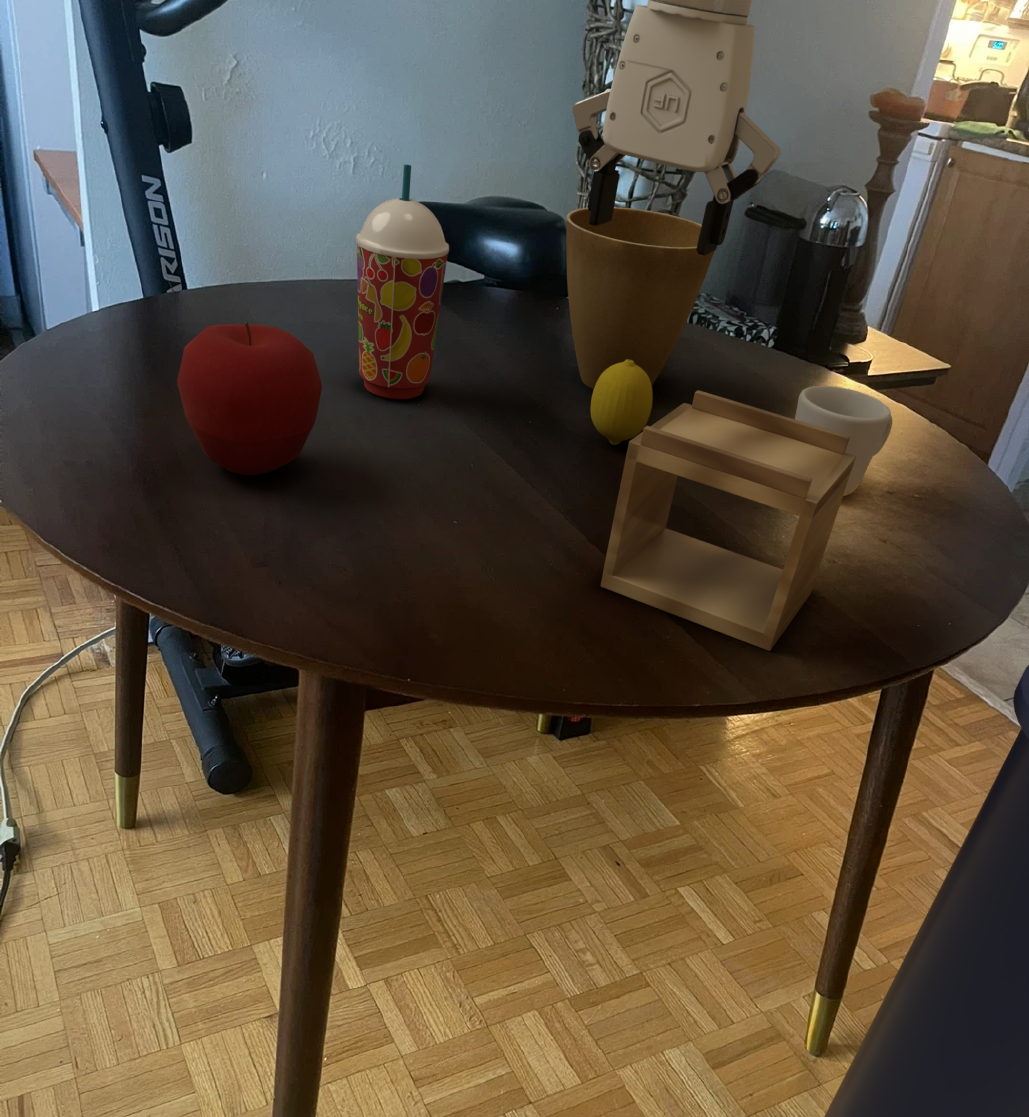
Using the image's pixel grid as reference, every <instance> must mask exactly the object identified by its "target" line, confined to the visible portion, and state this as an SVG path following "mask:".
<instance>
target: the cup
mask: <svg viewBox="0 0 1029 1117" xmlns="http://www.w3.org/2000/svg"><path fill="white" fill-rule="evenodd" d="M794 419H795V420H798V421H801V422H805V423H808V424H811V425H815V426H818V427H821V428H825V429H828V430H831V431H835V432H838V433H841V434H844V435H848V436H850V439H849V442H848V445H847V448H846V451H845V453H848V454H852V455H855V456H856V459H855V462H854V465H853V468H852V471H851V474H850V477H849V480H848V483H847V486H846V489H845V492H844V495H843V497H846V496H848V495H850V494H852V493H853V492H854V491H856V489H857V488H858V487H859V486H860V484H861V482H862V481H863V479H864V476H865V474H866V471H867V469H868V467H869V465H870V463H871V461H872V458H873V457H875V456H876V455H877V454H879V453H880V451H881V450H882V449H883V448H884V446H885V444H886V442H887V441H888V439H889V436H890V434H891V431H892V428H893V421H894V420H893V416H892V411H891V409H890V408H889V406H887V404H886V403H884V402H882V401H881V400H879V399H878V398H876V397H874V396H871V395H869V394H867V393H865V392H864V393H863V392H861V391H858V390H854V389H851V388H846V387H839V386H833V385H832V386H831V385H814V386H809V387H806V388H804V389H803V390H802V391H801V392H800V394H799V396H798V401H797V405H796V410H795V417H794Z"/></svg>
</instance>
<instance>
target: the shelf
mask: <svg viewBox="0 0 1029 1117" xmlns="http://www.w3.org/2000/svg"><path fill="white" fill-rule="evenodd" d="M849 439H850V436H848V435H844V434H841V433H838V432H835V431H831V430H828V429H825V428H821V427H818V426H815V425H811V424H808V423H805V422H801V421H798V420H795V418H791V417H788V416H784V415H782V414H778V413H775V412H772V411H769V410H765V409H762V408H758V407H755V406H752V405H749V404H745V403H742V402H739V401H735V400H732V399H730V398H726V397H722V396H719V395H715V394H712V393H708V392H705V391H702V390H696V391H695V392H694V395H693V399H692V404H689V403H687V402H683V403H682V404H680V405H679V406H678V407H676V408H675V409H673V410H672V411H671V412H669V413H668V414H666V415H665V416H664V417H662V418H660V419H659V420H658V421H656V422H655V423H653V424H652V425H650V426H649V425H645V427H644V428H643V429H642V431H641V432H640V433H638V434H637V435H636V436H634V437H633V438H631V439H630V440H629V441H628V446H627V451H626V455H625V461H624V465H623V470H622V476H621V479H620V480H621V481H620V485H619V490H618V496H617V501H616V504H615V510H614V516H613V521H612V526H611V529H610V536H609V540H608V546H607V549H606V550H607V551H606V556H605V561H604V565H603V566H604V567H603V571H602V576H601V580H600V581H601V582H600V587H601V588H603V589H606V590H608V591H611V592H614V593H617V594H618V595H622V596H624V597H626V598H629V599H632V600H634V601H637V602H640V603H642V604H645V605H647V606H650V607H653V608H656V609H658V610H661V611H663V612H665V613H668V614H671V615H674V616H676V617H679V618H682V619H684V620H687V621H690V622H692V623H695V624H698V625H700V626H703V627H705V628H708V629H710V630H712V631H715V632H718V633H721V634H723V635H726V636H729V637H731V638H734V639H737V640H739V641H742V642H744V643H747V644H750V645H752V646H755V647H757V648H760V649H763V650H765V651H767V652H770V651H771V650H772V649H773V648H774V646H775V645H776V644H777V642H778V640H779V639H780V637H781V636H782V635H783V633H784V632H785V631H786V629H787V628H788V626H789V625H790V624H791V623H792V621H793V619H794V618H795V617H796V615H797V613H798V612H799V611H800V610H801V609H802V607H803V605H804V604H805V603H806V601H807V600H808V599H809V597H810V595H811V594H812V591H813V588H814V585H815V581H816V579H817V576H818V573H819V570H820V567H821V564H822V561H823V557H824V555H825V552H826V550H827V545H828V542H829V540H830V537H831V533H832V531H833V528H834V526H835V525H834V524H835V522H836V519H837V516H838V512H839V510H840V506H841V503H842V500H843V498H844V496H843V495H844V492H845V489H846V486H847V483H848V480H849V477H850V474H851V471H852V468H853V465H854V462H855V459H856V456H855V455H852V454H848V453H845V451H846V448H847V445H848V442H849ZM678 477H681V478H685V479H687V480H690V481H694V482H696V483H699V484H702V485H706V486H707V487H711V488H714V489H718V490H720V491H723V492H727V493H729V494H732V495H736V496H738V497H741V498H744V499H747V500H750V501H753V502H756V503H759V504H762V505H765V506H768V507H771V508H775V509H777V510H781V511H783V512H787V513H789V514H792V515H795V516H798V520H797V523H796V527H795V530H794V533H793V536H792V538H791V539H792V540H791V543H790V546H789V549H788V552H787V556H786V558H785V562H784V565H783V567H782V568H783V569H782V568H780V567H776V566H774V565H771V564H768V563H765V562H764V561H759V560H757V559H754V558H751V557H748V556H745V555H742V554H740V553H737V552H735V551H731V550H730V549H729V550H728V549H725V548H724V547H720V546H717V545H714V544H712V543H709V542H706V541H704V540H700V539H697V538H695V537H691V536H689V535H686V534H683V533H680V532H678V531H675V530H672V529H669V528H667V524H668V520H669V516H670V511H671V506H672V502H673V498H674V495H675V494H674V493H675V490H676V485H677V481H678Z"/></svg>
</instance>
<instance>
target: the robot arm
mask: <svg viewBox="0 0 1029 1117" xmlns="http://www.w3.org/2000/svg"><path fill="white" fill-rule="evenodd" d="M752 2H753V0H647V5H643V4H636V5H635V7H634V9H633V13H632V15H631V18H630V21H629V24H628V27H627V30H626V33H625V36H624V39H623V42H622V46H621V50H620V52H619V56H618V59H617V63H616V67H615V71H614V75H613V79H612V83H611V87H610V89H608V90H606V91H603V92H601V93H598V94H595V95H593V96H590V97H588V98H585V99H583V100H580V101H577V102H576V103H574V104H573V106H572V114H573V119H574V122H575V123H574V124H575V127H576V131H577V132H578V139H577V140H578V143H579V145H580V147H581V149H582V151H583V153H584V154H585V156H586V158H587V160H588V167H589V169H590V171H591V172H593V173H592V177H591V178H592V179H591V185H590V191H589V195H588V196H589V197H588V201H587V208H588V210H589V211H591V214H590V220H589V224H590V225H593V226H598V225H601V224H604V223H607V222H609V221H611V220H612V216H613V211H614V207H615V206H616V198H617V193H618V189H619V188H618V187H619V182H620V178H621V177H620V173H619V172H620V171H619V169H616V168H617V165H618V163H620V162H621V161H622V160H623V159H624V158H625V157H626V156H627V157H630V158H635V159H638V160H643V161H647V162H652V163H655V164H659V165H664V166H668V167H671V168H672V167H673V168H676V169H681V170H684V171H689V172H695V173H704V175H705V177H706V180H707V182H708V184H709V186H710V189H711V191H712V193H713V197H712V200H709V201H707V203H706V205H705V208H704V214H703V217H702V223H701V225H702V226H701V231H700V235H699V240H698V244H697V249H696V251H697V252H698V254H700V255H704V256H705V255H707V254H709V253H711V252H713V251H714V252H715V251H717V248H718V246H721V245H723V243H724V241H725V239H726V234H727V230H728V227H729V223H730V218H731V213H732V210H733V205H734V201H736V200H738V199H739V198H740V197H741V196H743V195H744V194H746V193H747V192H748V191H750V190H751V189H752V188H754V187H755V186H757V185H759V184H760V183H761V182H762V179H763V177H764V176H765V175H766V174H768V172H769V171H770V169H771V168H772V167H773V165H774V164H775V163H776V162H777V160H778V159H779V158H780V156H781V153H782V152H781V148H780V146H778V145H777V143H775V142H774V140H772V139H771V138H770V137H769V136H768V135H767V134H766V132H764V131H763V130H762V129H761V128H760V127H759V126H758V125H757V124H756V123H755V122H754V121H753V120H752V119H751V118H750V117H749V116H748V115H747V114H746V113H747V107H748V100H749V93H750V86H751V78H752V72H753V71H752V70H753V58H754V45H755V25H754V24H751V23H748V20H749V15H750V12H751V7H752ZM604 112H605V114H604V120H603V127H602V136H601V134H600V132H599V130H598V129H597V117H598V115H599V114H602V113H604ZM741 142H742V143H743V144H744V145H745V146H746V147H747V148H748V149H749V150H750V151H751V152H752V153H753V159H752V161H751V162H750V163H749V165H748V166H747V168H746V170H744V171H743V172H741V173H739V174H738V175H736V173H735V170H734V168H733V166H732V163H734V160H735V158H736V156H737V154H738V151H739V147H740V144H741Z"/></svg>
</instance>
